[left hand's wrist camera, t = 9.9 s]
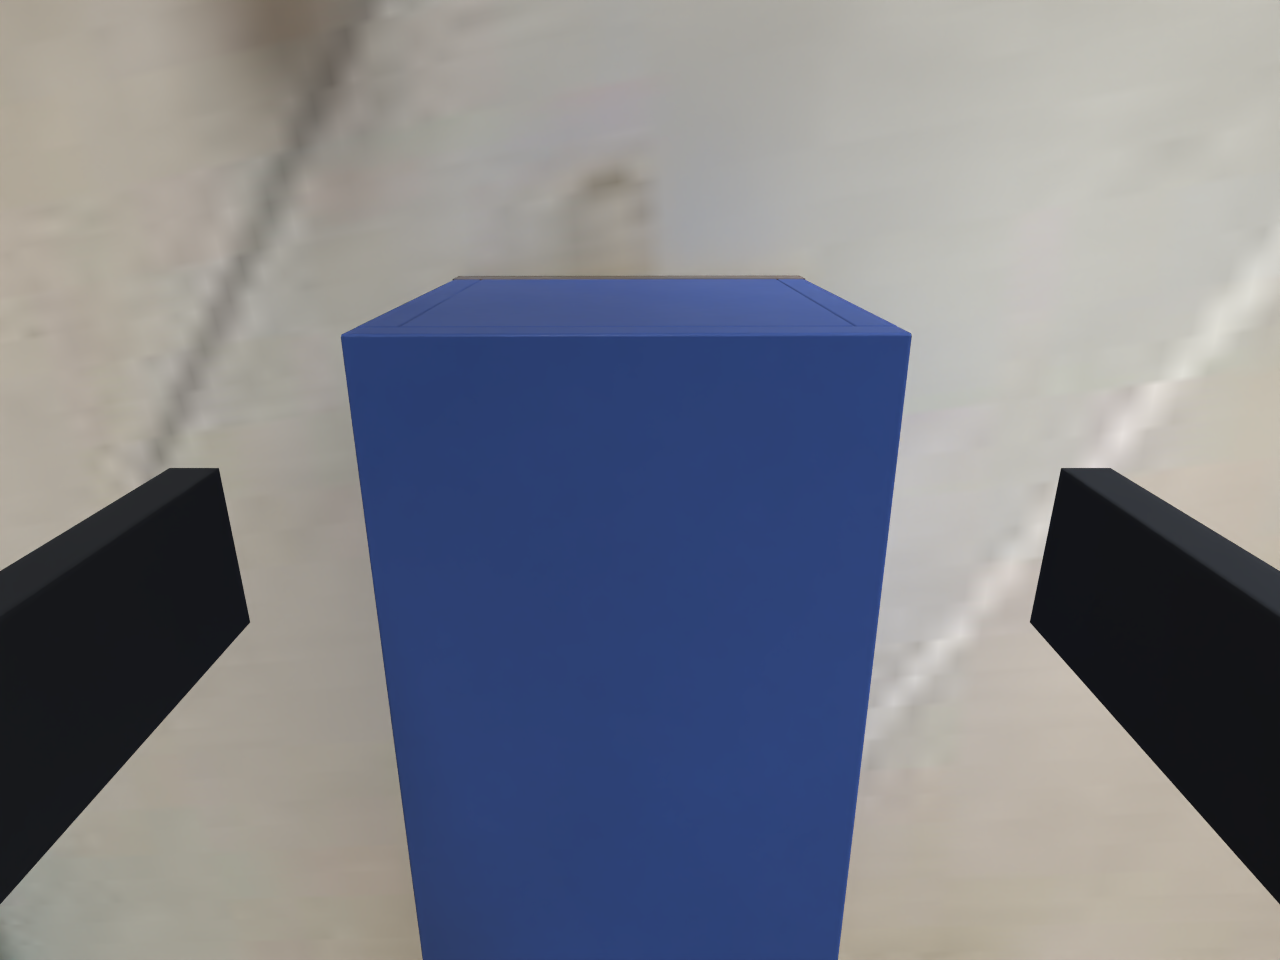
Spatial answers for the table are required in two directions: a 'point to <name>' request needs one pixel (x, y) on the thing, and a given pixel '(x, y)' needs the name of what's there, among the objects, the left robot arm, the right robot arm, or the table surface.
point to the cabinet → (628, 605)
